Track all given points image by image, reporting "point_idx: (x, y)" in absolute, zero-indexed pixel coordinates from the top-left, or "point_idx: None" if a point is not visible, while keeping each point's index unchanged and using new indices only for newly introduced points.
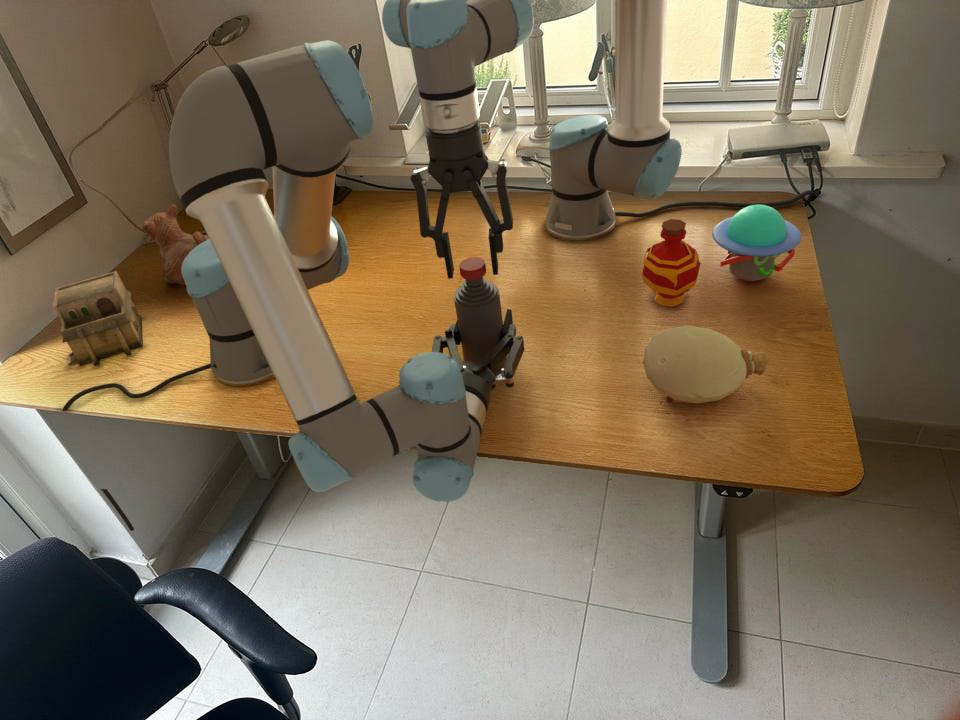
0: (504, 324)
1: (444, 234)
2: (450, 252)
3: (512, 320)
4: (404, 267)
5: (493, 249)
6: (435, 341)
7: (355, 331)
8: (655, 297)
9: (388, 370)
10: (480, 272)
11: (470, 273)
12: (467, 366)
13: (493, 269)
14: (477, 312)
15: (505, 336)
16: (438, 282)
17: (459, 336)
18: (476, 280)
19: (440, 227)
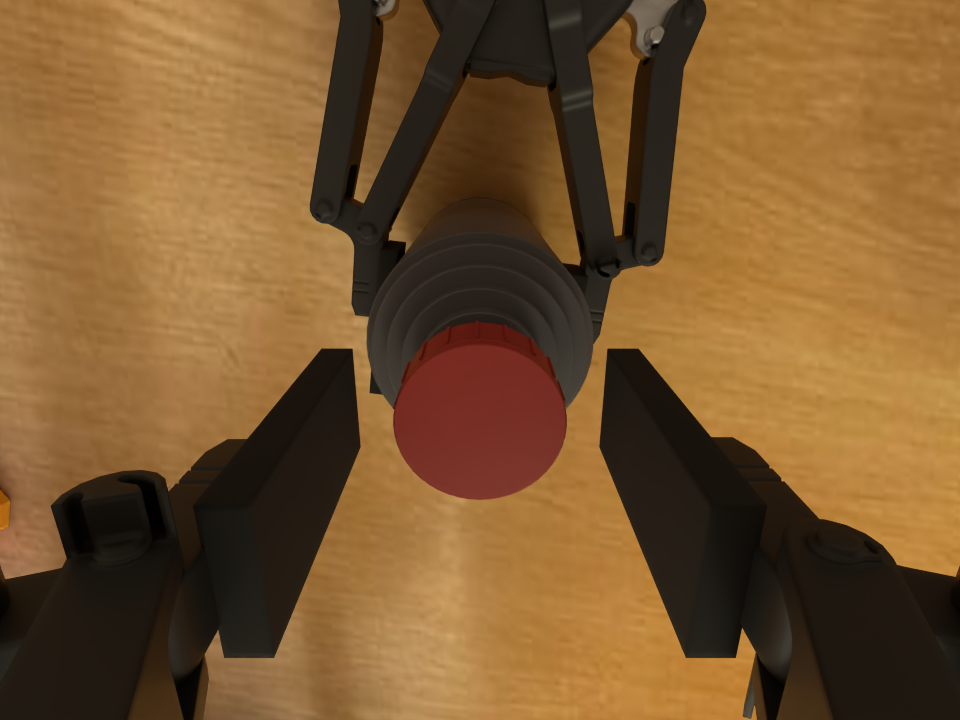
0: None
1: (724, 623)
2: (637, 495)
3: None
4: (720, 714)
5: (266, 433)
6: (658, 227)
7: (875, 462)
8: (7, 510)
9: (784, 268)
10: (424, 351)
11: (489, 337)
12: (527, 36)
13: (335, 362)
14: (473, 228)
15: (381, 226)
16: (626, 644)
17: None
18: None
19: (856, 647)
